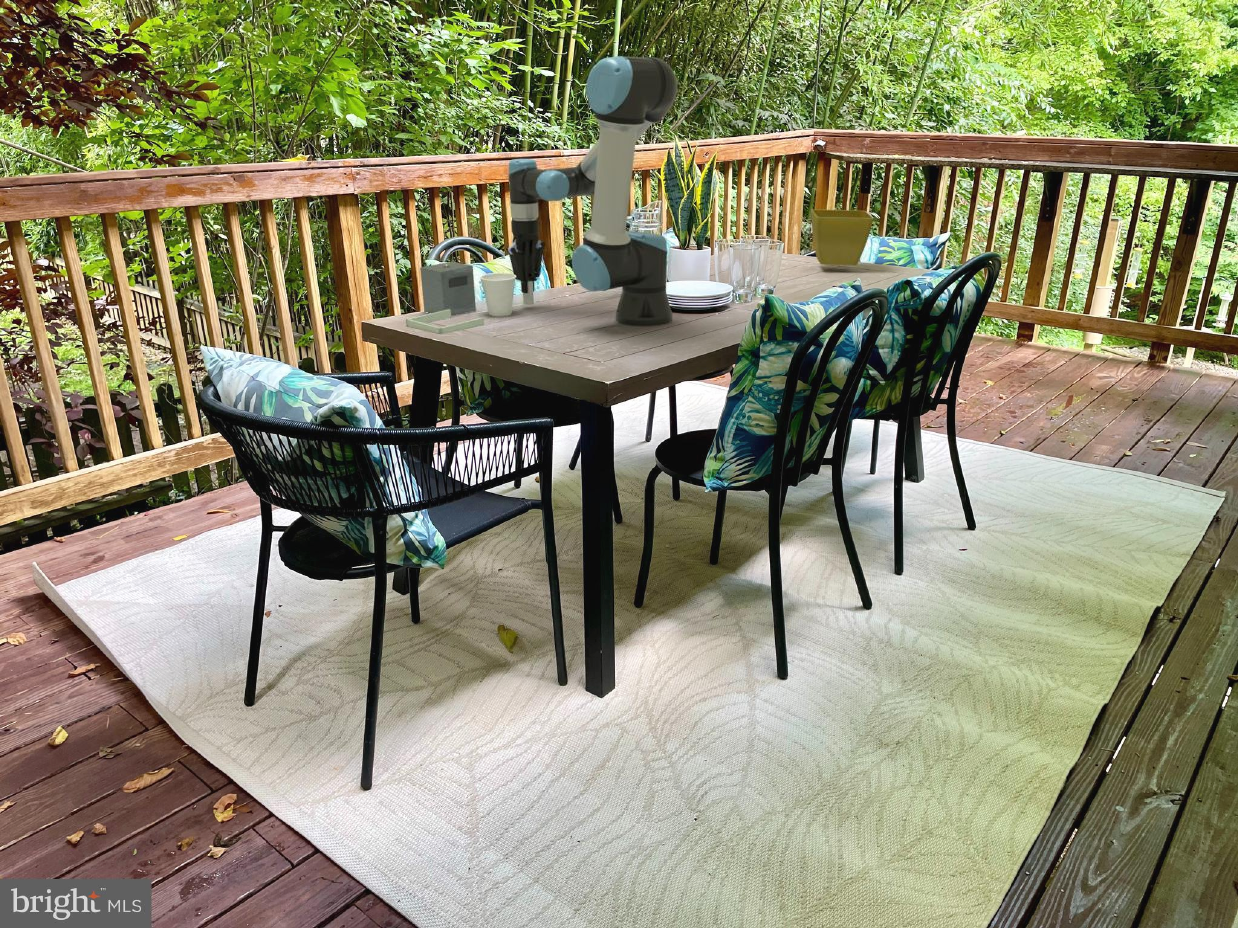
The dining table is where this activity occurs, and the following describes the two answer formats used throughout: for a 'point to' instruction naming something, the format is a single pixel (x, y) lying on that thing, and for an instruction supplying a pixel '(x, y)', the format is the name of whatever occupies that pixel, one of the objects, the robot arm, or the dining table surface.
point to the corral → (421, 320)
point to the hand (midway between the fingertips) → (528, 303)
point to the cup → (498, 292)
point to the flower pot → (840, 235)
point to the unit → (448, 288)
